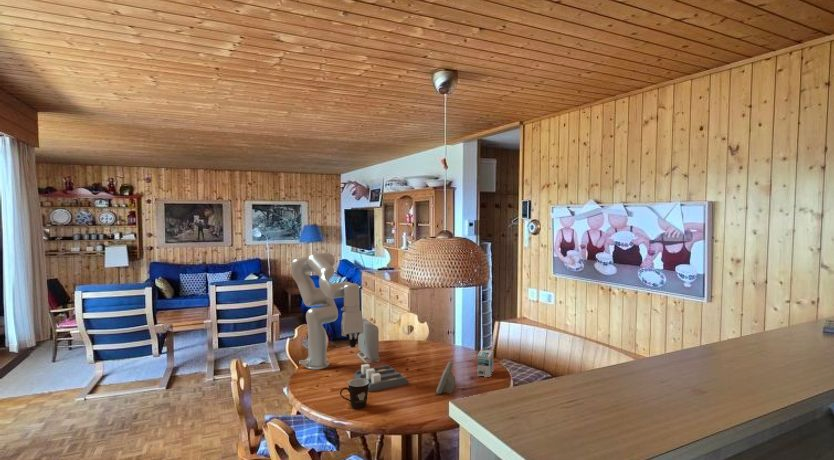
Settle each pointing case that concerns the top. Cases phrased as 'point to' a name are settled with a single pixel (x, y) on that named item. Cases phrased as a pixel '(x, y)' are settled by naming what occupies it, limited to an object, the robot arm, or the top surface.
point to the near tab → (375, 378)
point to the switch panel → (383, 378)
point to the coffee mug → (357, 393)
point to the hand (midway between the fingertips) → (352, 346)
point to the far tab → (364, 368)
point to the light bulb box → (485, 363)
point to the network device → (369, 342)
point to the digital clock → (446, 380)
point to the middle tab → (369, 373)
